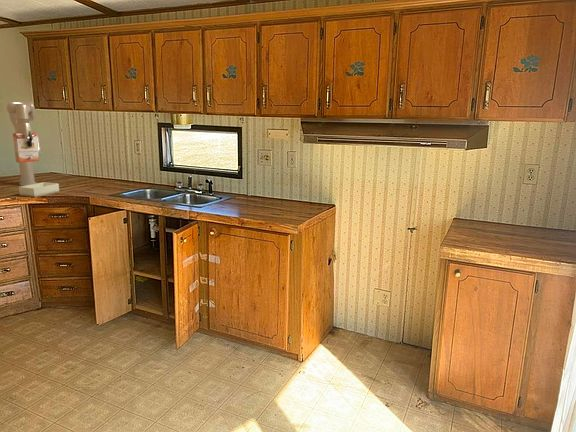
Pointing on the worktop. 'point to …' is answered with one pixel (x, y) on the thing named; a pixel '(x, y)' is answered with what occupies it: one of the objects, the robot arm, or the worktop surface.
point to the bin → (38, 189)
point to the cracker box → (25, 148)
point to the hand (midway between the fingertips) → (26, 146)
